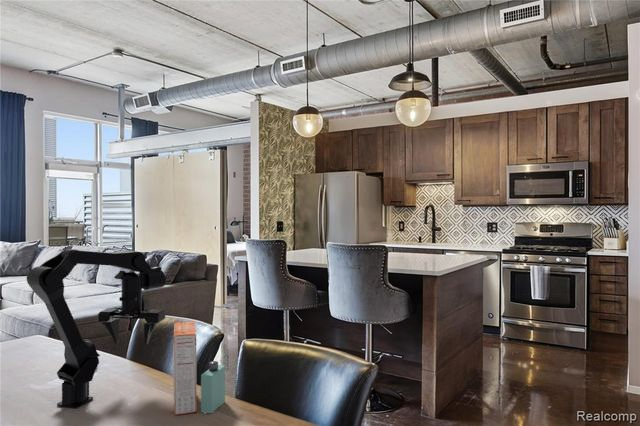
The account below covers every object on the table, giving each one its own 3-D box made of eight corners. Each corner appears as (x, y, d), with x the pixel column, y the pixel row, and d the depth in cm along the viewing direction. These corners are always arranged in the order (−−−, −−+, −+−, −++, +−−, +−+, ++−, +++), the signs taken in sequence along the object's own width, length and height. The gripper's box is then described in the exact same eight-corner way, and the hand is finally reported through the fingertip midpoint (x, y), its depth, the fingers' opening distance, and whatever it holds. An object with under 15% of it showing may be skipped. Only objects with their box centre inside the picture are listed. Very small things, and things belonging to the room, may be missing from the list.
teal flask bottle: (211, 414, 122) (211, 368, 122) (201, 412, 122) (201, 367, 122) (225, 401, 129) (225, 358, 129) (215, 400, 130) (215, 357, 130)
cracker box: (173, 395, 134) (174, 321, 134) (195, 392, 136) (196, 320, 135) (172, 416, 120) (172, 334, 120) (197, 413, 122) (197, 333, 122)
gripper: (172, 288, 149) (172, 337, 149) (115, 287, 151) (115, 335, 151) (157, 294, 138) (157, 347, 138) (96, 293, 139) (96, 346, 140)
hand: (131, 343), depth 142 cm, fingers open, 9 cm apart
